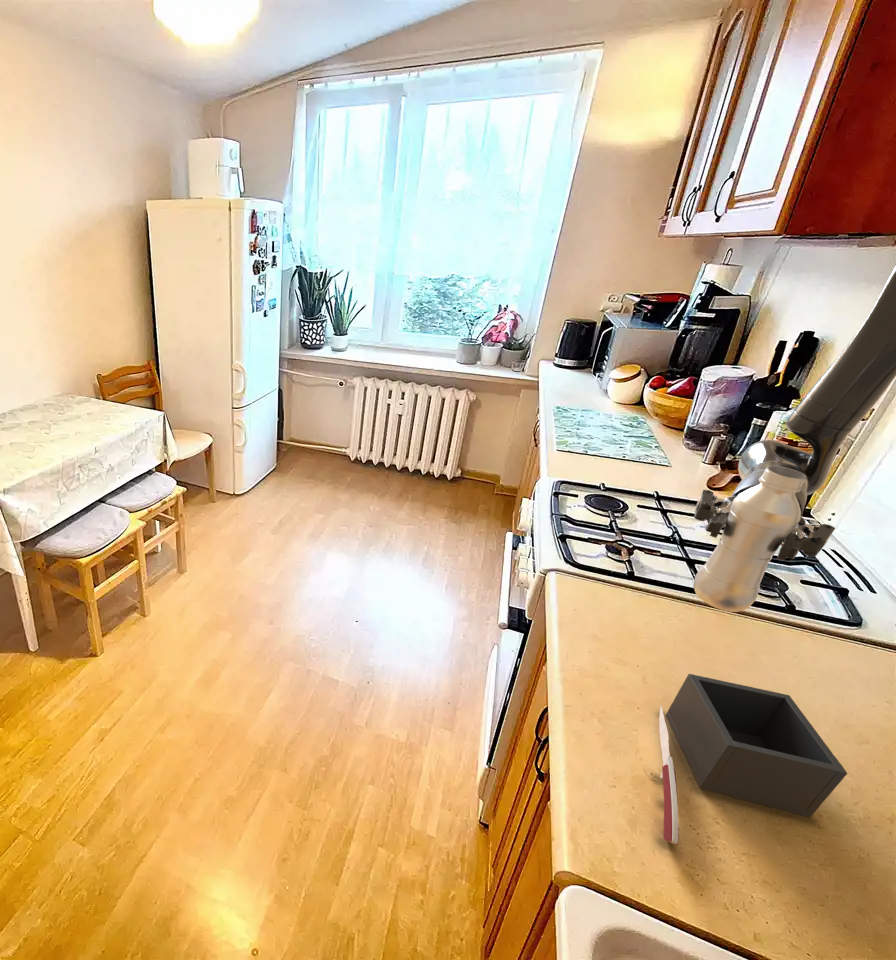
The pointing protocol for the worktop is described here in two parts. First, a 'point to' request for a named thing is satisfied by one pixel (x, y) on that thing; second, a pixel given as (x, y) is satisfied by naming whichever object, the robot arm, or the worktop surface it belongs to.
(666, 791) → the knife
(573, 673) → the worktop surface
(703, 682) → the bin
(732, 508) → the plastic bottle
